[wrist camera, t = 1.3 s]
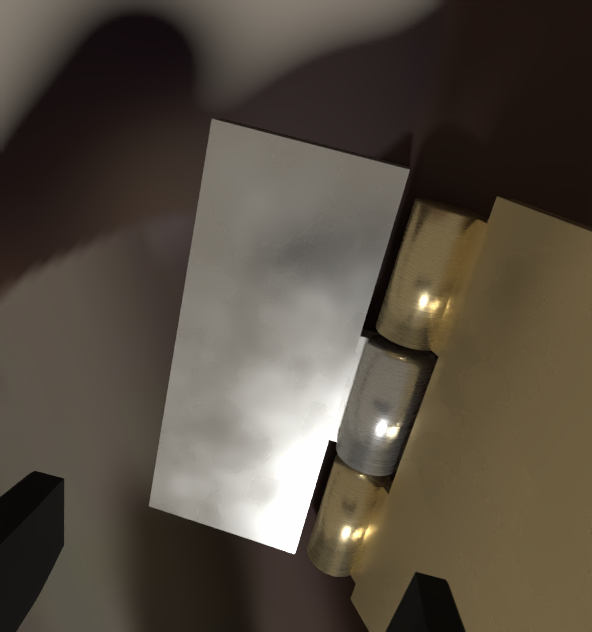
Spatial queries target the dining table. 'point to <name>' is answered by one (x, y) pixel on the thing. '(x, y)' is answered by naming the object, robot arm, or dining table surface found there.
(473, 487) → the brass leaf
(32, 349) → the dining table surface
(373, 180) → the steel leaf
